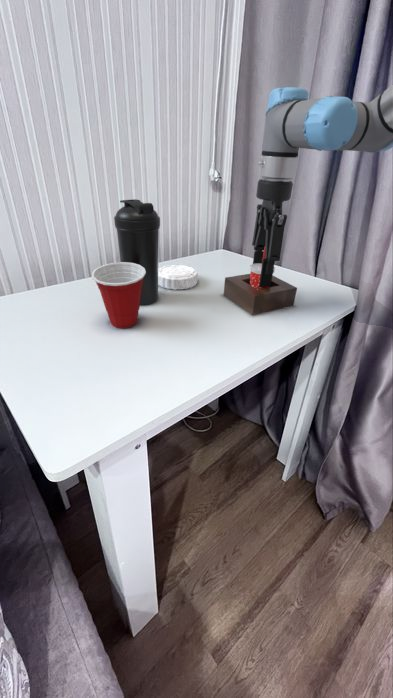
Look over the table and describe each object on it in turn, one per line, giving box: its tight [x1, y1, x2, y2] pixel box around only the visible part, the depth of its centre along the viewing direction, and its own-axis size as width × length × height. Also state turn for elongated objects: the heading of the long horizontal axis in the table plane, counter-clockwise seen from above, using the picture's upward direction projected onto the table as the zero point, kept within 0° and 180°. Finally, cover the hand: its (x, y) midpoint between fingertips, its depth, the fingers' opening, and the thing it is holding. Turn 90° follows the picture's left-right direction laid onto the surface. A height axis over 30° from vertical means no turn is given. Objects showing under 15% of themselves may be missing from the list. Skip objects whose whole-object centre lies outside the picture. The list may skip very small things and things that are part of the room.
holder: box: [223, 273, 298, 316], centre depth 85 cm, size 13×13×5 cm
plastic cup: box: [91, 261, 146, 329], centre depth 70 cm, size 11×11×12 cm
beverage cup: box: [249, 247, 276, 290], centre depth 83 cm, size 6×6×14 cm
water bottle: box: [113, 198, 161, 306], centre depth 79 cm, size 10×10×23 cm
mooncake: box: [158, 264, 199, 291], centre depth 94 cm, size 12×12×4 cm
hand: (260, 281), depth 84 cm, fingers closed on beverage cup, 6 cm apart
